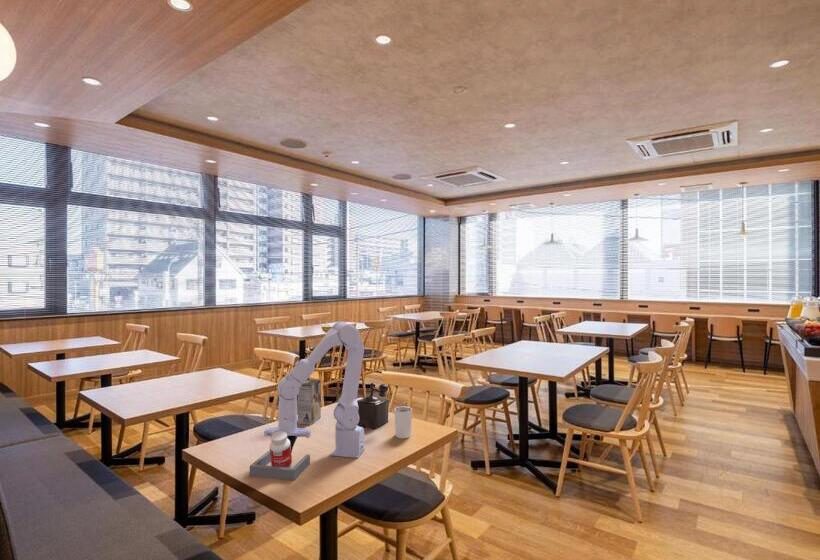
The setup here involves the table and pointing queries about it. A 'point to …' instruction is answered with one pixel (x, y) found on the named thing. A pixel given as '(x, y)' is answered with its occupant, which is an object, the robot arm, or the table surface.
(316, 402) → the coffee box
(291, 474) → the box
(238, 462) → the table surface
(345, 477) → the table surface
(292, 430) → the robot arm
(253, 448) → the table surface
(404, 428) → the drinking glass
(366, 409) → the manual coffee grinder
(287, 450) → the pill bottle
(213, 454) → the table surface
